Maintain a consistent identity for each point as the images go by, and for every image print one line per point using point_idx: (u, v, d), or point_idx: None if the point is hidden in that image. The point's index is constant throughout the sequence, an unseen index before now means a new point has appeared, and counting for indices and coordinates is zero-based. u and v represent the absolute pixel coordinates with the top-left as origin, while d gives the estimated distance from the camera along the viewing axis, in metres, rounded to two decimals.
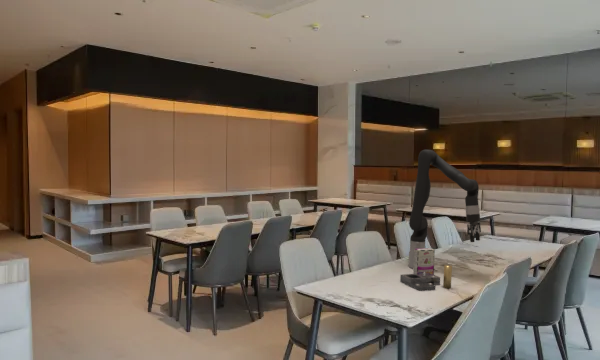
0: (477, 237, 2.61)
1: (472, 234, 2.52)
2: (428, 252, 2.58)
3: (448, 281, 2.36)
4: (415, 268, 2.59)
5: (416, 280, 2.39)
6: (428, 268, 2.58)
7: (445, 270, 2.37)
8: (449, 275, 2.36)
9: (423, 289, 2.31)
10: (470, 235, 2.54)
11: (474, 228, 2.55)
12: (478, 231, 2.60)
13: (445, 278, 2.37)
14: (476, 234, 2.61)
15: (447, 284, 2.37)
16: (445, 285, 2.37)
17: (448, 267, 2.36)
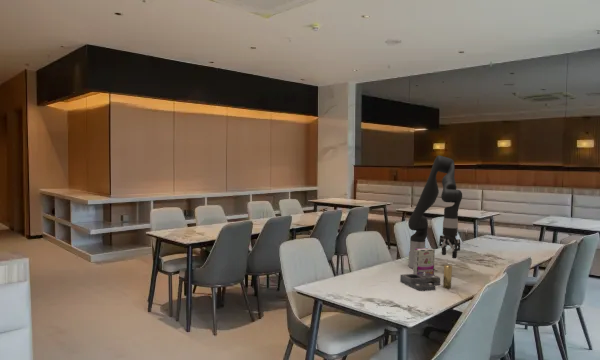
0: None
1: None
2: (428, 252, 2.58)
3: (448, 281, 2.36)
4: (415, 268, 2.59)
5: (416, 280, 2.39)
6: (428, 268, 2.58)
7: (445, 270, 2.37)
8: (449, 275, 2.36)
9: (423, 289, 2.31)
10: None
11: None
12: (451, 247, 2.34)
13: (445, 278, 2.37)
14: None
15: (447, 284, 2.37)
16: (445, 285, 2.37)
17: (448, 267, 2.36)
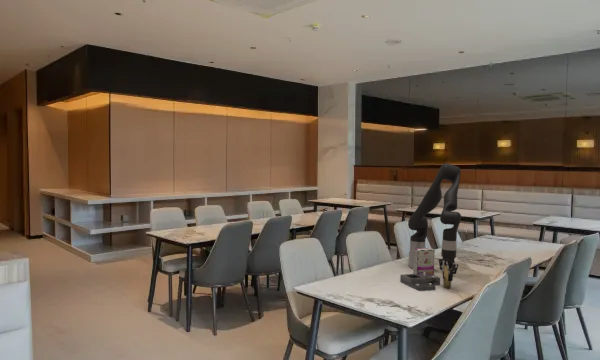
0: None
1: (440, 269, 2.42)
2: (428, 252, 2.58)
3: (448, 281, 2.36)
4: (415, 268, 2.59)
5: (416, 280, 2.39)
6: (428, 268, 2.58)
7: (445, 270, 2.37)
8: None
9: (423, 289, 2.31)
10: None
11: (443, 264, 2.40)
12: (448, 270, 2.36)
13: (445, 278, 2.37)
14: None
15: (447, 284, 2.37)
16: (445, 285, 2.37)
17: None
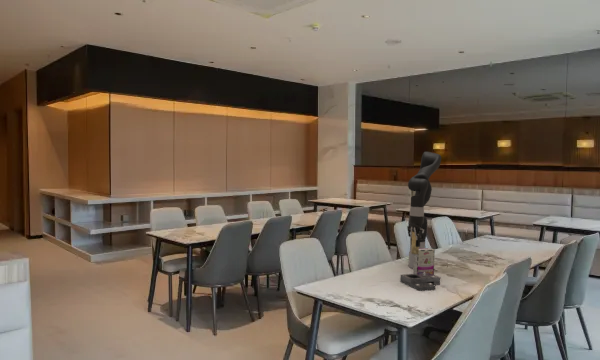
0: None
1: (409, 236, 2.47)
2: (428, 252, 2.58)
3: (415, 246, 2.41)
4: (415, 268, 2.59)
5: (416, 280, 2.39)
6: (428, 268, 2.58)
7: (413, 236, 2.42)
8: None
9: (423, 289, 2.31)
10: None
11: (411, 230, 2.45)
12: None
13: (413, 244, 2.42)
14: None
15: (414, 249, 2.41)
16: (413, 251, 2.42)
17: None
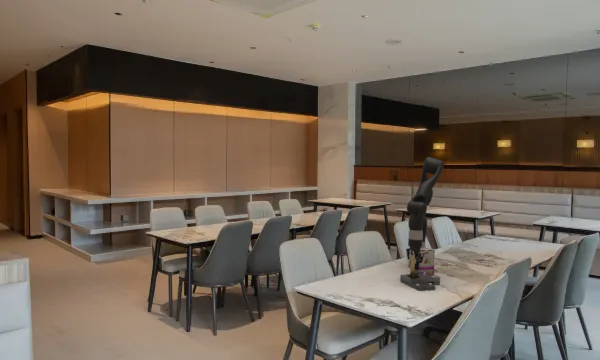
0: None
1: None
2: (428, 252, 2.58)
3: (414, 269, 2.42)
4: None
5: (416, 280, 2.39)
6: (428, 268, 2.58)
7: (412, 259, 2.43)
8: None
9: (423, 289, 2.31)
10: None
11: (410, 253, 2.45)
12: None
13: (412, 267, 2.42)
14: None
15: (413, 272, 2.42)
16: (412, 274, 2.43)
17: None
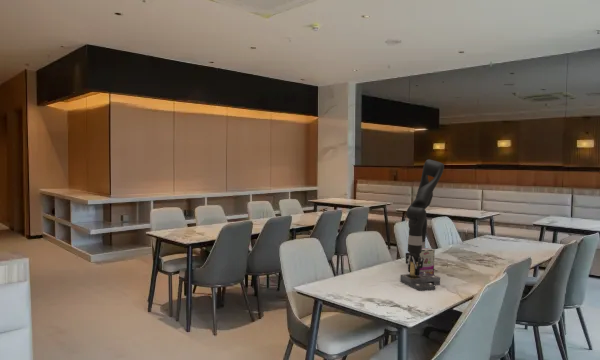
0: None
1: (406, 263, 2.49)
2: (428, 252, 2.58)
3: (413, 277, 2.42)
4: None
5: (416, 280, 2.39)
6: (428, 268, 2.58)
7: (411, 266, 2.43)
8: None
9: (423, 289, 2.31)
10: (409, 264, 2.48)
11: (409, 258, 2.46)
12: (414, 264, 2.41)
13: (411, 274, 2.43)
14: None
15: None
16: None
17: None
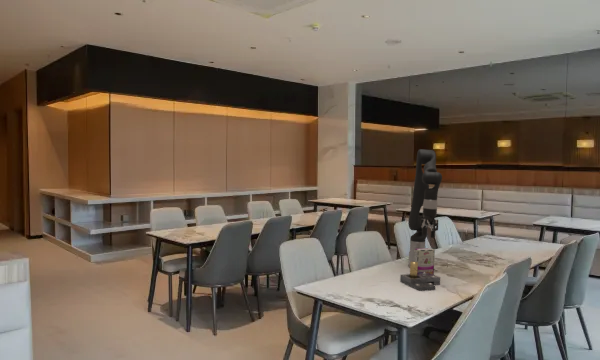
0: None
1: (420, 226, 2.54)
2: (428, 252, 2.58)
3: (413, 277, 2.42)
4: None
5: (416, 280, 2.39)
6: (428, 268, 2.58)
7: (411, 266, 2.43)
8: (415, 271, 2.42)
9: (423, 289, 2.31)
10: None
11: None
12: (430, 227, 2.45)
13: (411, 274, 2.43)
14: None
15: None
16: None
17: (414, 263, 2.42)
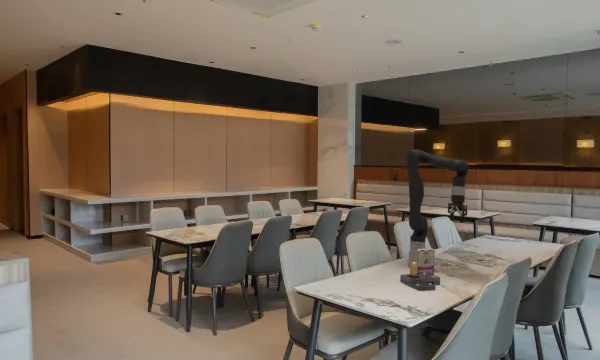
0: None
1: (448, 212, 2.65)
2: (428, 252, 2.58)
3: (413, 277, 2.42)
4: None
5: (416, 280, 2.39)
6: (428, 268, 2.58)
7: (411, 266, 2.43)
8: (415, 271, 2.42)
9: (423, 289, 2.31)
10: None
11: (452, 208, 2.61)
12: (459, 213, 2.55)
13: (411, 274, 2.43)
14: None
15: None
16: None
17: (414, 263, 2.42)
